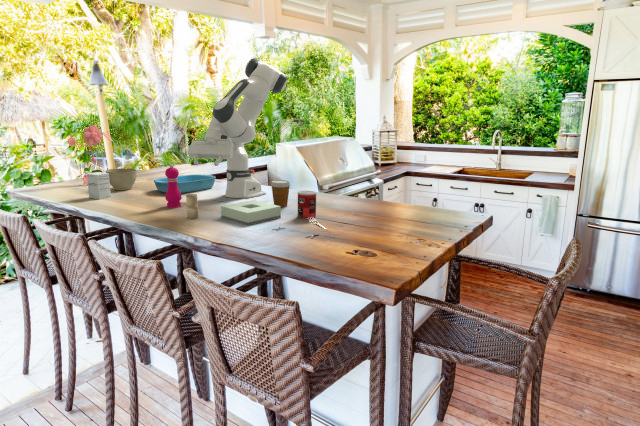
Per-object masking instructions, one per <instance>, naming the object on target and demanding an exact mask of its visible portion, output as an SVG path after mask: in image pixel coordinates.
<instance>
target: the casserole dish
mask: <svg viewBox="0 0 640 426" xmlns="http://www.w3.org/2000/svg"><path fill="white" fill-rule="evenodd" d="M177 178H178V181H177V186H178V189H179V191H180V193H181V194H185V193H193V192H198V191H199V190H200V191H203V190H204V189H205V190H209V188H210V189H211V188H213V187H214V184H215V181H216V176H215V175H212V174H211V175H210V174H199V173H198V174H196V173H195V174H193V173H192V174H185V175H178V177H177ZM153 183H154V185H155V187H156V189H157V190H158V191H159V192H161V193H165V194H166V192H167V190H168V181H167V176H165V177H159V178H154V179H153Z"/></svg>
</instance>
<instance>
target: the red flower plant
mask: <svg viewBox="0 0 640 426" xmlns="http://www.w3.org/2000/svg"><path fill="white" fill-rule="evenodd" d="M83 130H84V133H83V135H82V136H83V142H84V143H86V144H84V145H82V146H80V144H78V143H77V141H76V139H75V137H73V136H70V137H69V138H68V139H67V143H68V145H69V146H70V147H71V148H73V147H74V146H75V145H77V146H78V148H83V147H86V146H89V148H90V152H91V154H92V157H91V158H90V161H88V162H85V163H83V169H84V175H83V176H82V181H83V185H86V186H87V187H88V181H87V173H86V167H85V165H87V164H88V163H90V162H92V163H95V162H97V163H98V167H99V168H98V169H99V170H101V164H100V161H97V159H96V157H95V156H94V153H93V149H92V147H96V146H99V144H101V143H102V137H103V136H104V137H105V138H106V139H107V140H108V141H111V142H113V143H114V140H113V138H111V136H109V135H108V134H107V133H105V132H102V129H101V128H99V129H98V125H96V124H94V125H90V124H89V126H88V127H84V129H83ZM73 186H75V184H74V185H73Z"/></svg>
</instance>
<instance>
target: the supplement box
mask: <svg viewBox="0 0 640 426" xmlns="http://www.w3.org/2000/svg"><path fill="white" fill-rule="evenodd" d="M86 175H87V181H88V186H87V188H88V189H87V190H88V197H89V199H95V200H103V199H108V198H111V184H110V182H109V173H106V172H101V171H98V172H97V171H96V172H90V173H86Z"/></svg>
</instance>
